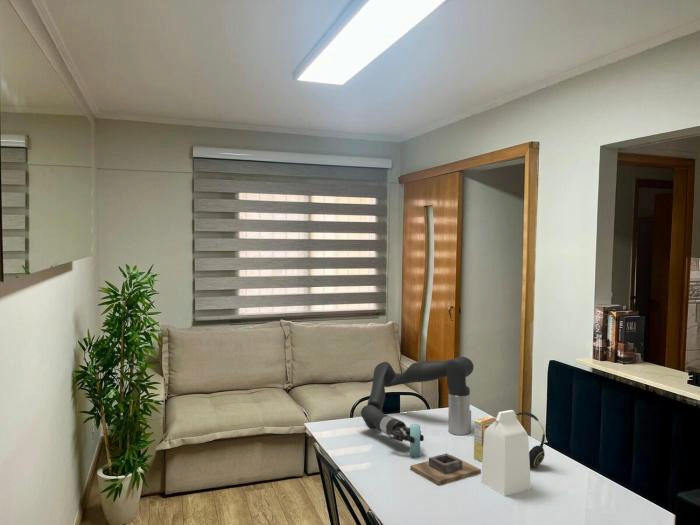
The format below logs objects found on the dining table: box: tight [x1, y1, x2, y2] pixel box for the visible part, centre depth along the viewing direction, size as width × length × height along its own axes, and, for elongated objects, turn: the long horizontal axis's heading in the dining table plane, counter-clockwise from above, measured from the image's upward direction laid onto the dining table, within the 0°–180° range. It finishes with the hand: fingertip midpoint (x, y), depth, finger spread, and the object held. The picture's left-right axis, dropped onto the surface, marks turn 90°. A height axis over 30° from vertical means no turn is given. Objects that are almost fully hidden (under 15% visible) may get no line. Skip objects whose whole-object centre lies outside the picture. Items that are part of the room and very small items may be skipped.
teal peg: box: [409, 423, 421, 459], centre depth 220 cm, size 4×4×12 cm
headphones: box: [515, 411, 546, 468], centre depth 212 cm, size 9×15×20 cm, turn 39°
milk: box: [480, 409, 532, 497], centre depth 193 cm, size 12×12×26 cm
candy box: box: [473, 416, 496, 463], centre depth 218 cm, size 9×4×15 cm, turn 129°
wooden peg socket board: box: [409, 453, 482, 486], centre depth 205 cm, size 20×16×4 cm
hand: (418, 439), depth 219 cm, fingers closed on teal peg, 4 cm apart
